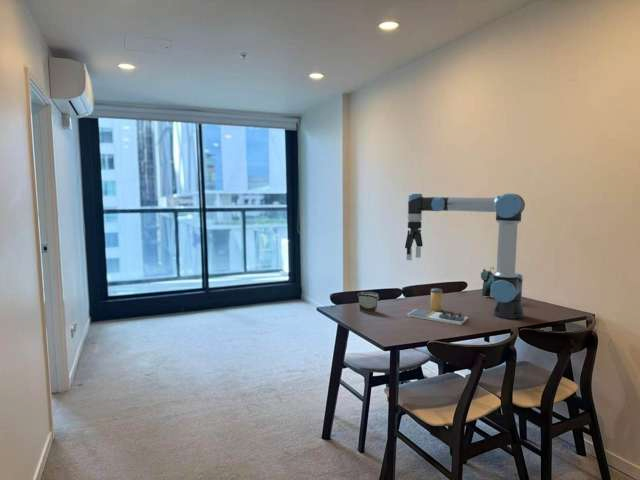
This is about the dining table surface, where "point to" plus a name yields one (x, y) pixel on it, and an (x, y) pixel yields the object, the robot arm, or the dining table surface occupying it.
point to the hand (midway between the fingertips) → (413, 258)
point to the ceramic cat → (487, 282)
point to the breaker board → (438, 316)
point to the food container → (368, 301)
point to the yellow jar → (436, 299)
